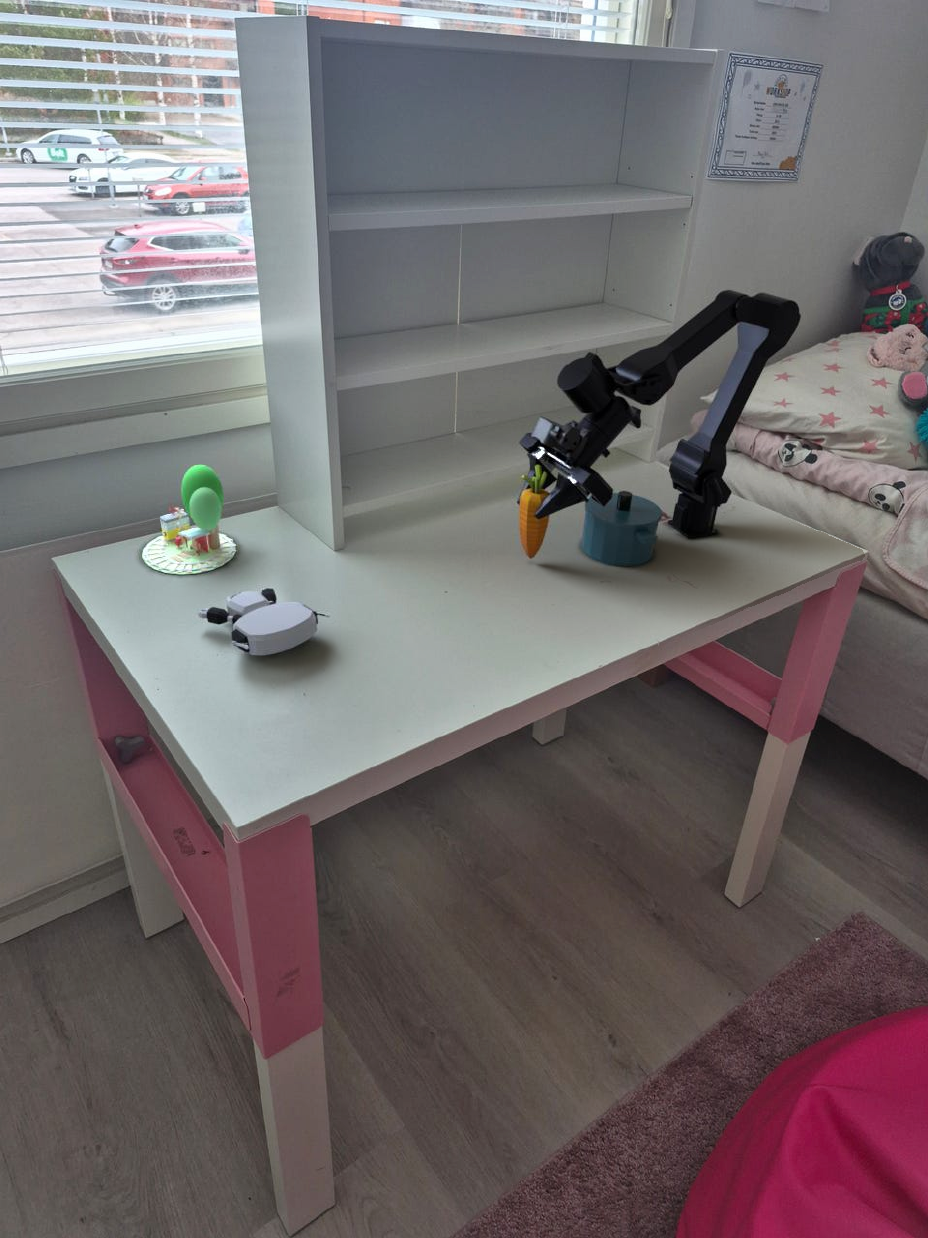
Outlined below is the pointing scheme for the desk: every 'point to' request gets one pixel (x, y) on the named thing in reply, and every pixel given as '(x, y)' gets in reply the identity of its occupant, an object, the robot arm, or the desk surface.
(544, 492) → the carrot
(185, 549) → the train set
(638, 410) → the robot arm
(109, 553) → the desk surface
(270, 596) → the robot toy
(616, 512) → the pot lid
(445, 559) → the desk surface
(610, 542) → the pot
